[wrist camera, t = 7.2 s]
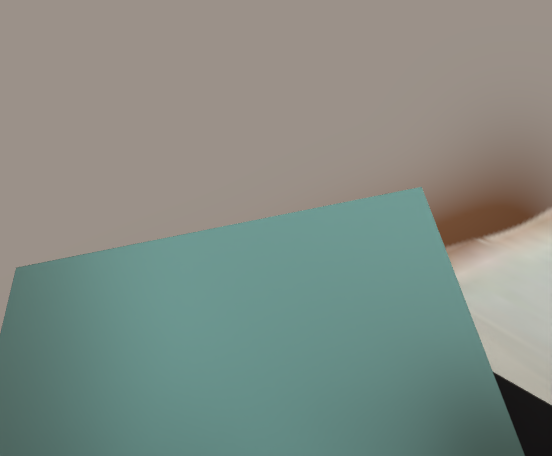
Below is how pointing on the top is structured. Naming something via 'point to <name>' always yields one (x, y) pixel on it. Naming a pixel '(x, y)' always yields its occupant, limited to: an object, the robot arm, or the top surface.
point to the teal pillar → (254, 344)
